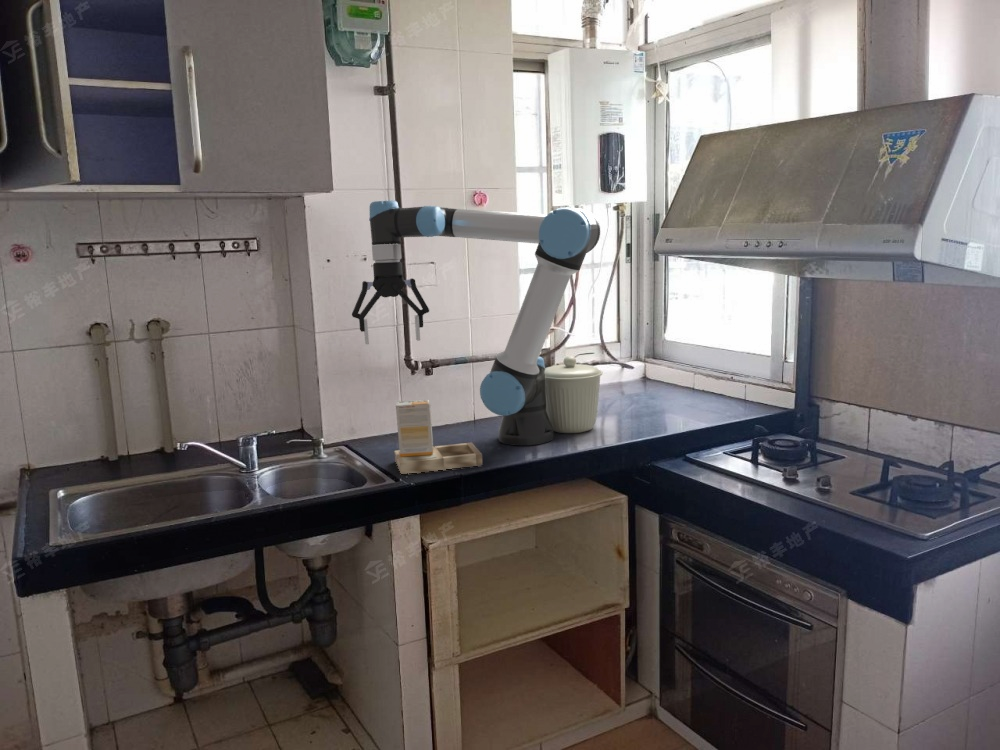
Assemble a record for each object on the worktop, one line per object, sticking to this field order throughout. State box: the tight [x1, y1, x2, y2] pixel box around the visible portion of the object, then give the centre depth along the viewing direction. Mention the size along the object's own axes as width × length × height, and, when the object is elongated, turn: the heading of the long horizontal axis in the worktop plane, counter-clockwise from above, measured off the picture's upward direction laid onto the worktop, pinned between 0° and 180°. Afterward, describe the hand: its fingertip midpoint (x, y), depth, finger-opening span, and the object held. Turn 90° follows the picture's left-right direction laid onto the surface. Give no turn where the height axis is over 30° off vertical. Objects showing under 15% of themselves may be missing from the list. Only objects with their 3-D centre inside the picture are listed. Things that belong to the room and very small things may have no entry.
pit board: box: [394, 442, 483, 475], centre depth 198 cm, size 20×12×3 cm, turn 104°
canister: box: [545, 355, 603, 434], centre depth 226 cm, size 18×18×21 cm
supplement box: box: [395, 399, 434, 457], centre depth 196 cm, size 8×5×13 cm, turn 92°
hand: (392, 342), depth 212 cm, fingers open, 13 cm apart
